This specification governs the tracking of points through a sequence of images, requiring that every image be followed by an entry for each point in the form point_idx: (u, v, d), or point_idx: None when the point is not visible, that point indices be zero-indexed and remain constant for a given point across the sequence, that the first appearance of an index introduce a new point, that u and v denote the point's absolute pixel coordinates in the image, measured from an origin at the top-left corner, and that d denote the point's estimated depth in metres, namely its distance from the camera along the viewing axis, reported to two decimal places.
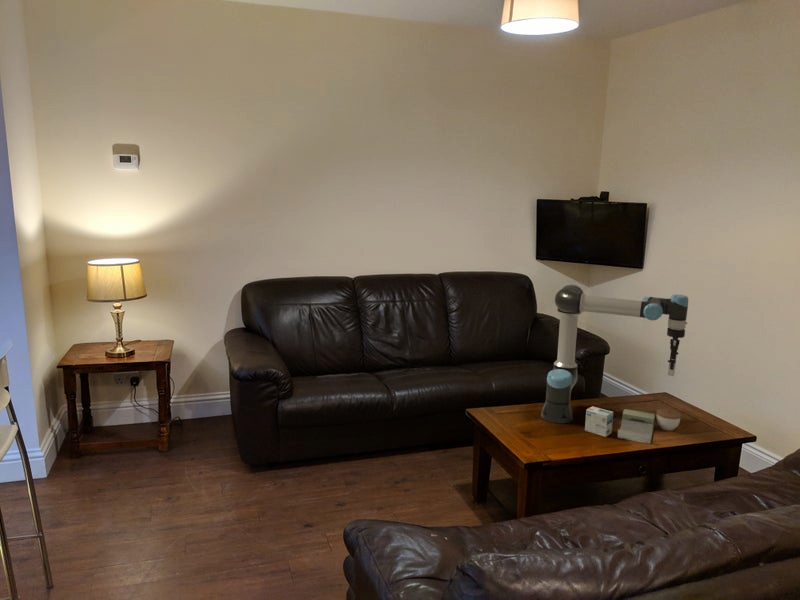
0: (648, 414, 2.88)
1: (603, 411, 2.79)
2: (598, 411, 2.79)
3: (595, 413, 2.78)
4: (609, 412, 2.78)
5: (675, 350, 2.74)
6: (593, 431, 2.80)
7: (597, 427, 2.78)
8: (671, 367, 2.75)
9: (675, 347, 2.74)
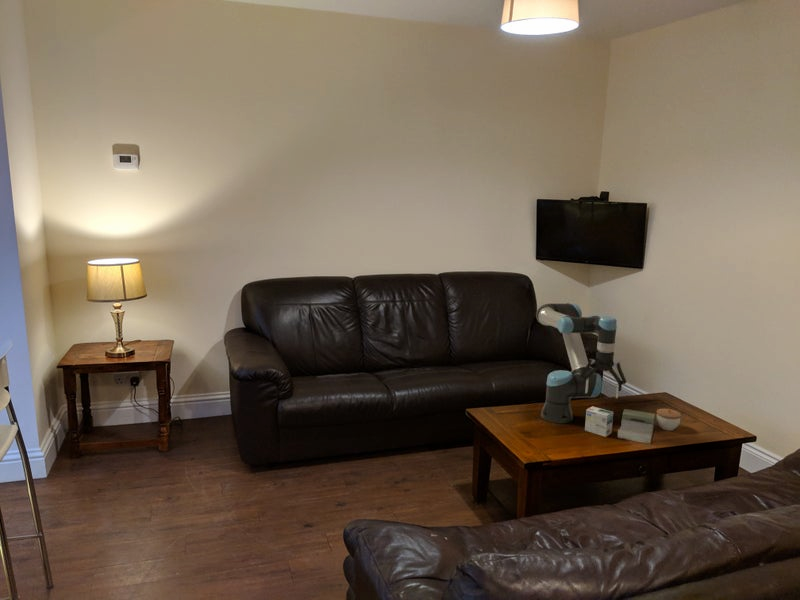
0: (648, 414, 2.88)
1: (603, 411, 2.79)
2: (598, 411, 2.79)
3: (595, 413, 2.78)
4: (609, 412, 2.78)
5: (585, 366, 2.79)
6: (593, 431, 2.80)
7: (597, 427, 2.78)
8: (583, 382, 2.81)
9: (587, 364, 2.78)
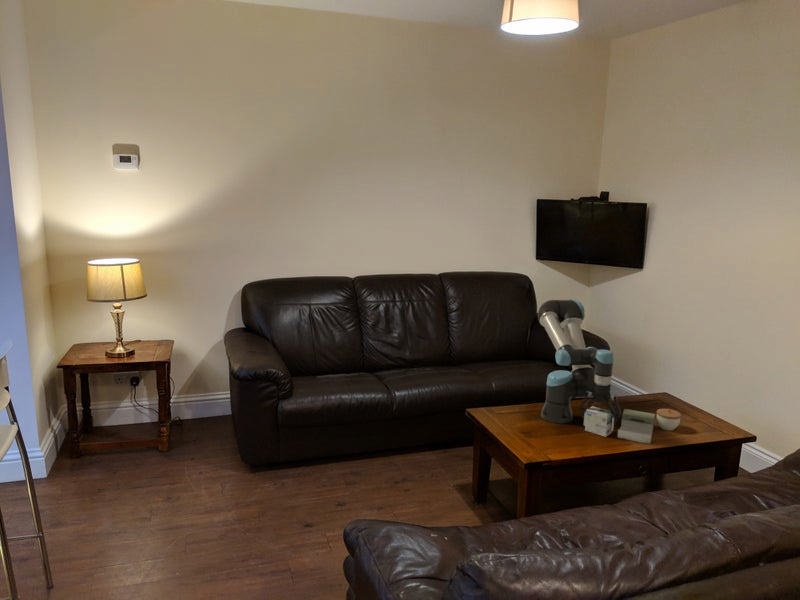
0: (648, 414, 2.88)
1: (603, 411, 2.79)
2: (598, 411, 2.79)
3: (595, 413, 2.78)
4: (609, 412, 2.78)
5: None
6: (593, 431, 2.80)
7: (597, 427, 2.78)
8: (582, 415, 2.84)
9: (584, 397, 2.81)
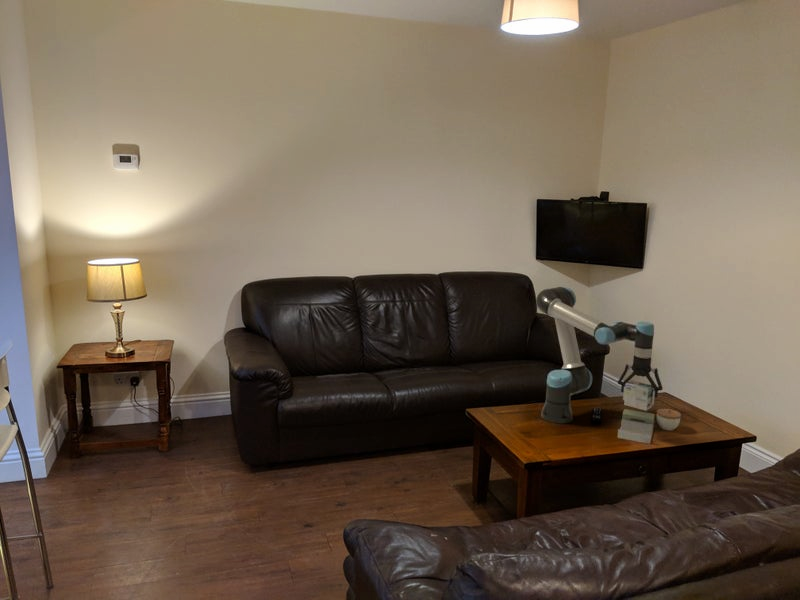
0: (648, 414, 2.88)
1: (643, 384, 2.74)
2: (638, 384, 2.73)
3: (635, 386, 2.73)
4: (650, 385, 2.72)
5: None
6: (633, 405, 2.75)
7: (637, 401, 2.73)
8: (621, 389, 2.79)
9: (624, 370, 2.76)
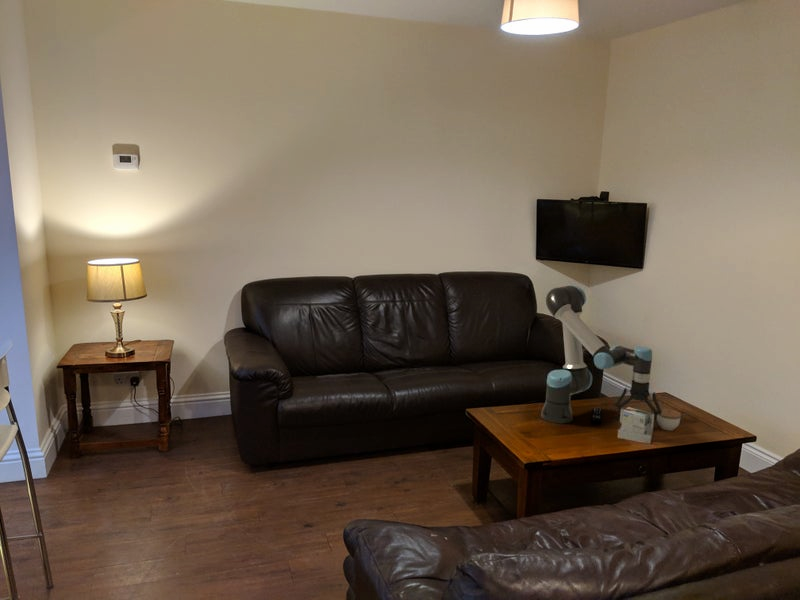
0: None
1: (640, 412, 2.77)
2: (635, 412, 2.76)
3: (632, 414, 2.76)
4: (646, 413, 2.75)
5: (620, 396, 2.79)
6: None
7: (634, 428, 2.76)
8: (618, 411, 2.81)
9: (622, 393, 2.78)
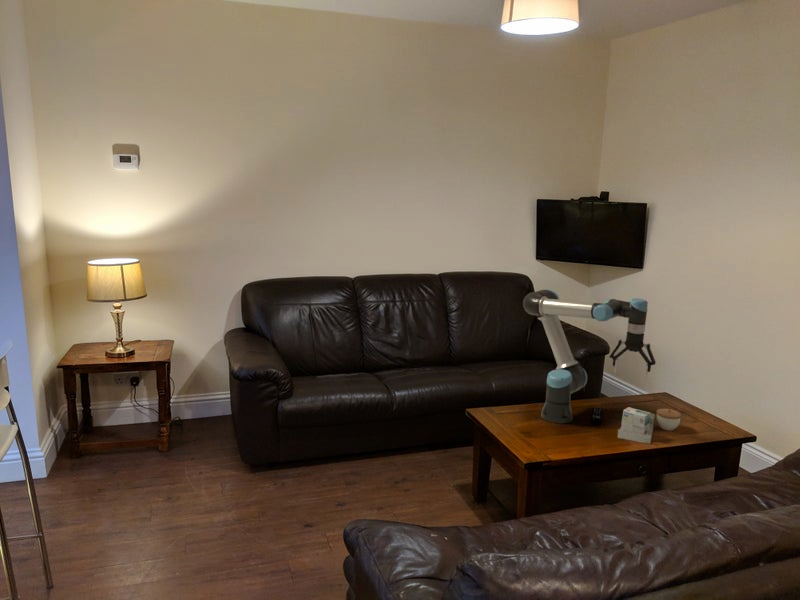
0: None
1: (640, 412, 2.77)
2: (635, 412, 2.76)
3: (632, 414, 2.76)
4: (646, 413, 2.75)
5: None
6: None
7: (634, 428, 2.76)
8: (613, 363, 2.86)
9: (617, 345, 2.83)
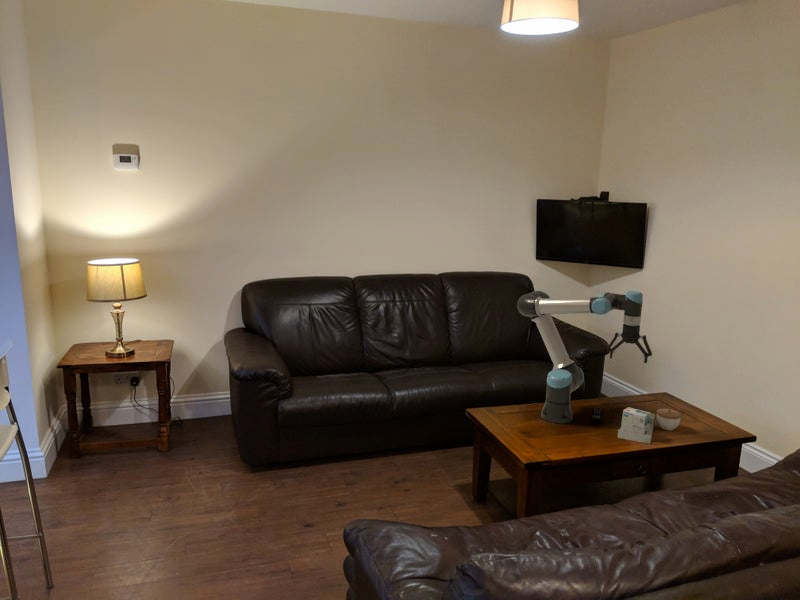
0: None
1: (640, 412, 2.77)
2: (635, 412, 2.76)
3: (632, 414, 2.76)
4: (646, 413, 2.75)
5: (612, 340, 2.87)
6: None
7: (634, 428, 2.76)
8: (610, 355, 2.89)
9: None
